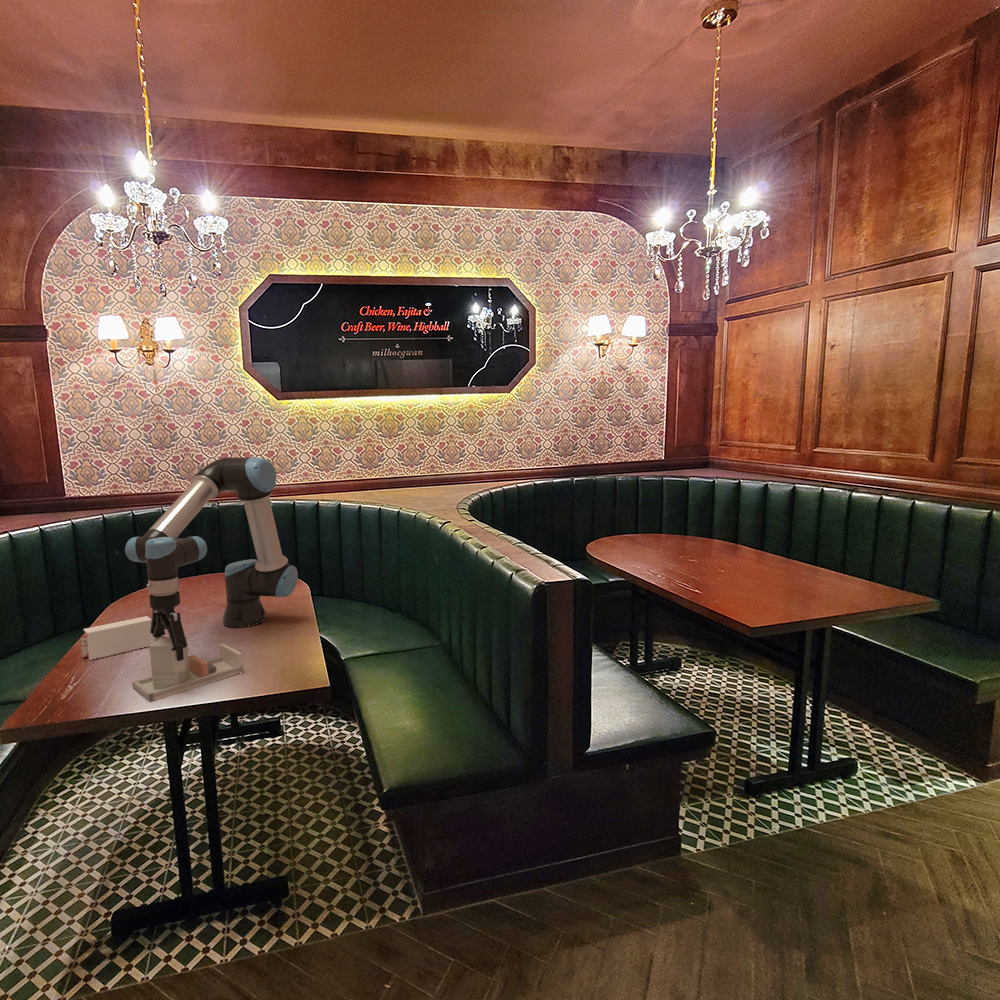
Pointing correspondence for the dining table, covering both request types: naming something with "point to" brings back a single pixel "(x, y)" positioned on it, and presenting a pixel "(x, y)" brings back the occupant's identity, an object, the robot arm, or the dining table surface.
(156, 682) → the supplement box
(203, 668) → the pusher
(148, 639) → the cigarette display
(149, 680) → the beige shallow tray
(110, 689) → the dining table surface
